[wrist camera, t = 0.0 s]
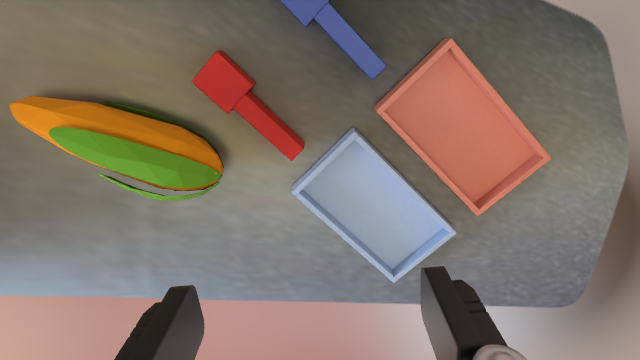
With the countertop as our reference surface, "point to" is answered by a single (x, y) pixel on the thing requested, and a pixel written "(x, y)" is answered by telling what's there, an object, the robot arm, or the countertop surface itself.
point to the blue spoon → (337, 32)
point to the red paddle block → (245, 102)
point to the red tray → (462, 127)
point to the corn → (126, 143)
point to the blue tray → (372, 206)
